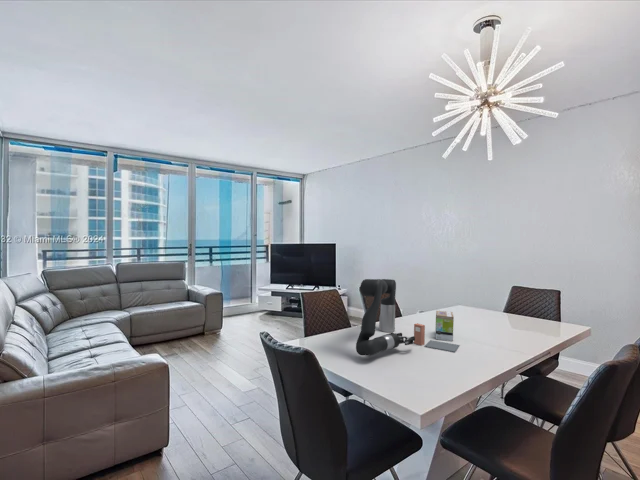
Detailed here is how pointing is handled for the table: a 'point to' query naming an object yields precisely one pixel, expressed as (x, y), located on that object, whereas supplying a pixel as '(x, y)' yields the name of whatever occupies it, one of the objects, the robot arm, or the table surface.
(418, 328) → the card box
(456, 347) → the mat
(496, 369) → the table surface
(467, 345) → the table surface
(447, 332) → the tea box
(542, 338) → the table surface
